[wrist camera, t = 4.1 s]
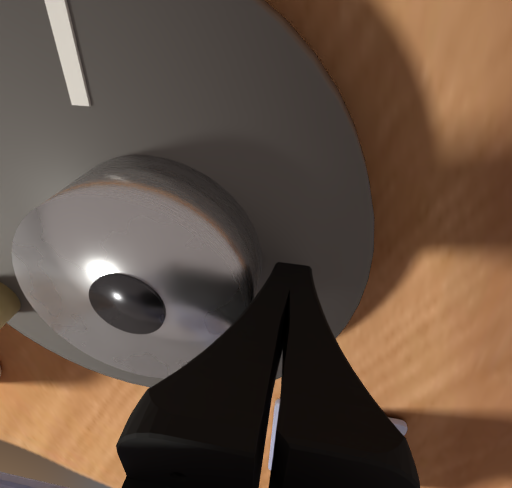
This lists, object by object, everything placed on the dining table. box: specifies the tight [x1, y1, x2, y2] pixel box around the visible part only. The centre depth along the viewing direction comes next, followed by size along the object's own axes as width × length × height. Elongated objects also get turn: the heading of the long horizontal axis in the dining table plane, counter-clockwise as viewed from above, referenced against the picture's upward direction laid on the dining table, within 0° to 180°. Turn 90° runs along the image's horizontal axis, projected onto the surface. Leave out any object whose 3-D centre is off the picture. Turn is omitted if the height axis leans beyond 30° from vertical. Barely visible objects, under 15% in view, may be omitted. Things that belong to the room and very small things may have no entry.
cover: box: [12, 155, 262, 378], centre depth 13 cm, size 8×8×3 cm
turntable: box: [0, 0, 374, 387], centre depth 14 cm, size 20×20×5 cm
